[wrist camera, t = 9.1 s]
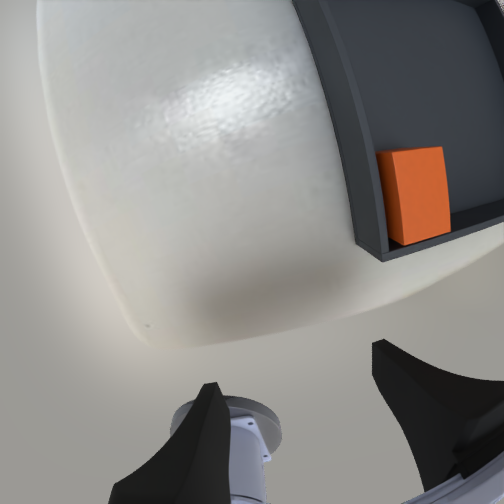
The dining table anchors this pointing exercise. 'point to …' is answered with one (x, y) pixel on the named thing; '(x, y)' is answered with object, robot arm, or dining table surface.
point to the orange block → (414, 193)
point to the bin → (414, 102)
